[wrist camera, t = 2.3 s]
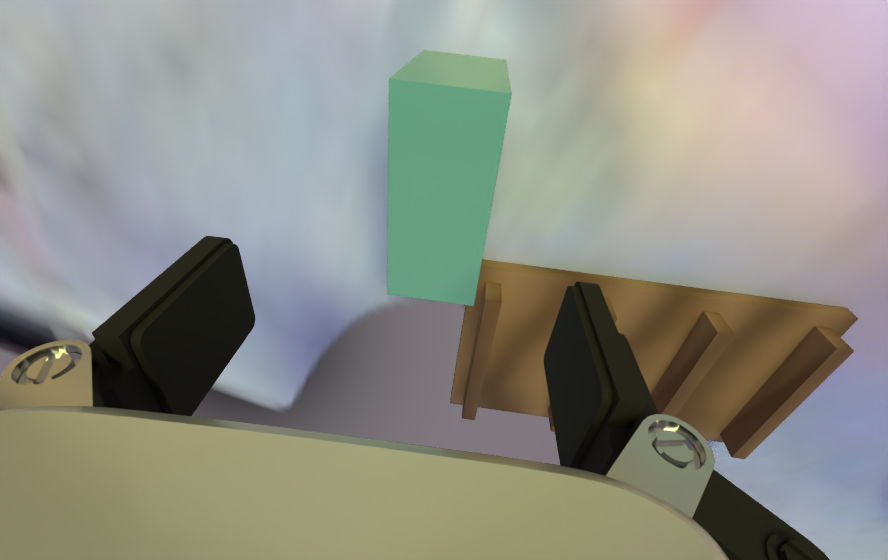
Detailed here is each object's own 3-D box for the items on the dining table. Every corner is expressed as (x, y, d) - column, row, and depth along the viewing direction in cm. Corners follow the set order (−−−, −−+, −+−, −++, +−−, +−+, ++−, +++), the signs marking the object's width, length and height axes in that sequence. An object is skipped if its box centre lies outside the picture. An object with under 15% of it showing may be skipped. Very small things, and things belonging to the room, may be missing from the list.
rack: (846, 308, 25) (884, 341, 23) (732, 433, 34) (750, 467, 31) (473, 258, 26) (471, 285, 24) (451, 393, 34) (448, 423, 32)
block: (505, 59, 19) (511, 93, 13) (479, 223, 25) (473, 306, 18) (424, 49, 19) (389, 78, 13) (415, 215, 25) (387, 294, 18)
